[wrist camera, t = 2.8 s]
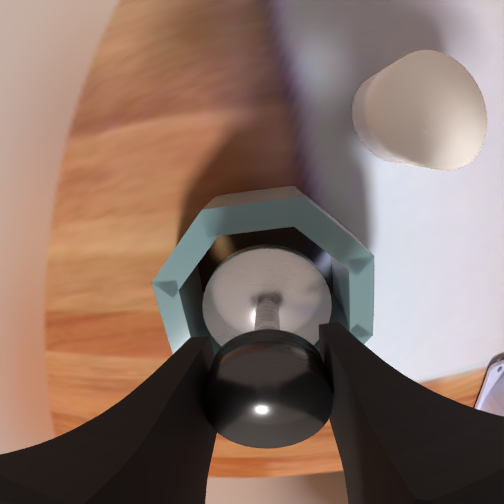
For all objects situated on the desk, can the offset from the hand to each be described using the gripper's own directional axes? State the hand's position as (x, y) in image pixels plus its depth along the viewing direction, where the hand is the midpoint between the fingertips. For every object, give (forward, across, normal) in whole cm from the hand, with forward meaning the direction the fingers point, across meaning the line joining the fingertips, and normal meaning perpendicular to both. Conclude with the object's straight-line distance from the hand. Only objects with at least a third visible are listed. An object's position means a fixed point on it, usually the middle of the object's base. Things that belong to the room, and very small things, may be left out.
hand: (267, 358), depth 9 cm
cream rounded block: (+6, -7, -7) cm, 12 cm away
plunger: (+4, 0, 0) cm, 4 cm away
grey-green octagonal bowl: (+6, 0, 0) cm, 6 cm away
